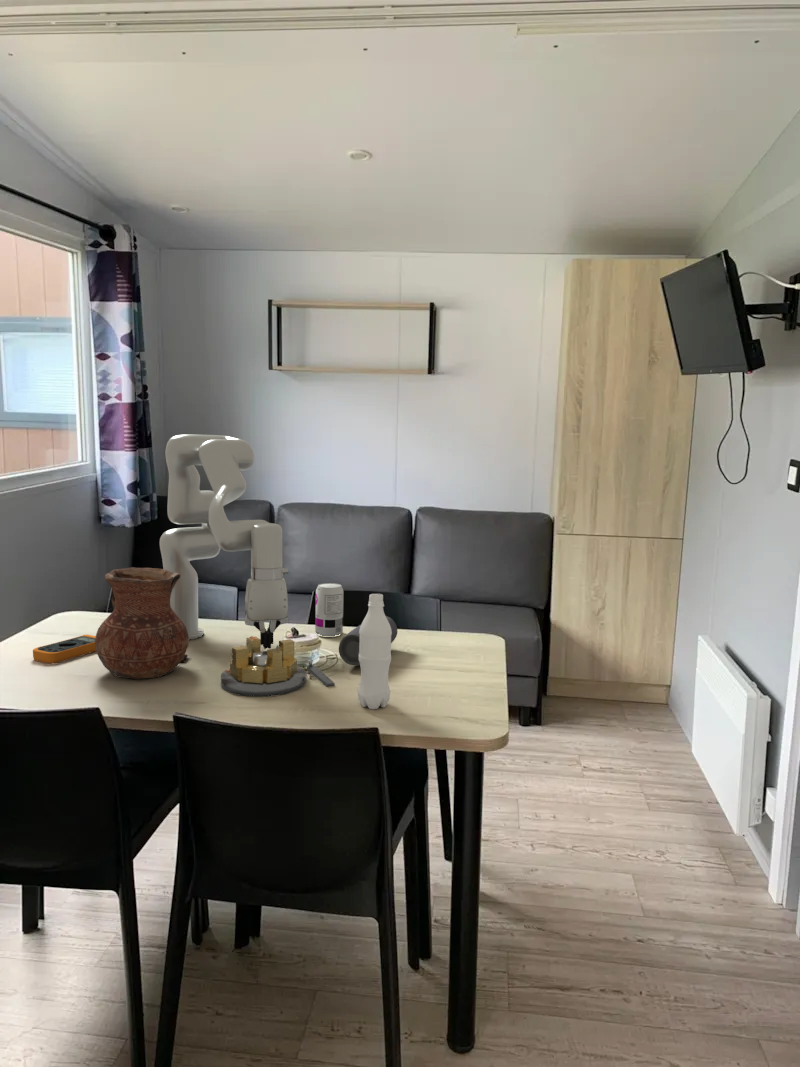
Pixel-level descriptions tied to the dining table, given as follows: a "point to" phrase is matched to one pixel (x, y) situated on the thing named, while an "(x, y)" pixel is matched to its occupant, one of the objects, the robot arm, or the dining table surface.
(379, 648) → the water bottle
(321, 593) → the supplement can
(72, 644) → the multimeter
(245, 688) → the housing
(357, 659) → the bluetooth speaker
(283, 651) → the ring nut
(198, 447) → the robot arm
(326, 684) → the pin spanner
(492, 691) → the dining table surface
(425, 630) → the dining table surface
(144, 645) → the clay pot
